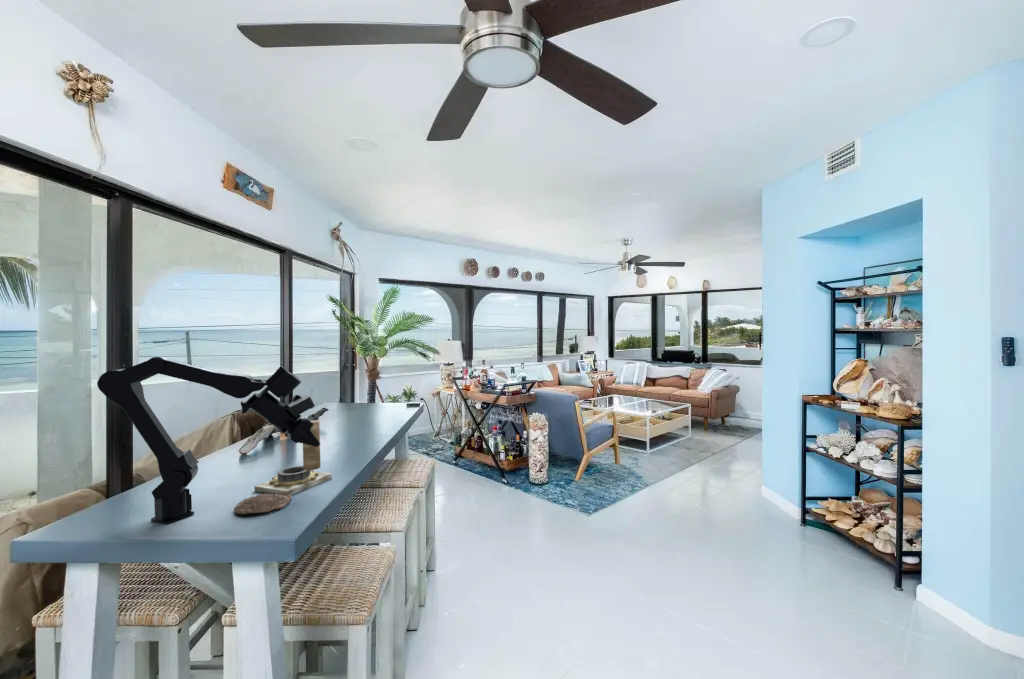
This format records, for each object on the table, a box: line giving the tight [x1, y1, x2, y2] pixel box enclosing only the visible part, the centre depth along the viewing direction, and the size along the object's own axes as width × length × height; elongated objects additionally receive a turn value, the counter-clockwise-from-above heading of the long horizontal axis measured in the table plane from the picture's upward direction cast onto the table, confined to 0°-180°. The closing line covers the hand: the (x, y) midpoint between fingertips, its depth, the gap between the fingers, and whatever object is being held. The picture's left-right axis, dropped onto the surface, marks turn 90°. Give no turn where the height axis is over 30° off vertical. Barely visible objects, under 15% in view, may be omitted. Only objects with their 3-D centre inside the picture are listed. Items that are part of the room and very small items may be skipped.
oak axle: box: [302, 420, 321, 471], centre depth 125 cm, size 4×4×13 cm
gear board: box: [253, 465, 333, 496], centre depth 132 cm, size 16×13×4 cm
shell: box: [233, 493, 292, 518], centre depth 114 cm, size 12×13×4 cm
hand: (316, 443), depth 126 cm, fingers closed on oak axle, 4 cm apart
